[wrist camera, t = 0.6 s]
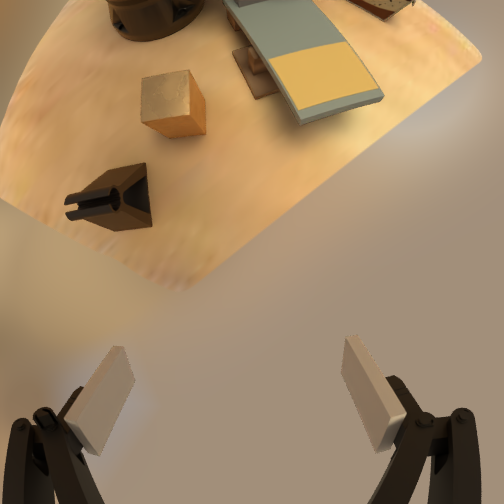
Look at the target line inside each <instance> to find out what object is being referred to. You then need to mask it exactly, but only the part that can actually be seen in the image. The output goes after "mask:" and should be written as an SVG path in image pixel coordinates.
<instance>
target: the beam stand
mask: <svg viewBox="0 0 504 504" xmlns="http://www.w3.org/2000/svg"><path fill="white" fill-rule="evenodd" d="M227 16H228V20H229V21H230V23H231V25H232V26H233V28H234V30H235V31H238V30H241V28H240V26H239V25H238V23H237V22H236V20H235V19H234V18H233V16H232V15H231V14H230V12H229V11H228V9H227ZM232 52H233V56H234V58H235V60H236V62H237V64H238V66H239V68H240V70H241V72H242V74H243V75H244V77H245V79H246V81H247V83H248V85H249V87H250V89H251V92H252V94H253V96H254V98H255V100H256V99H259V98H261V97H264V96H267V95H270V94H273V93H276V92H279V91H280V89H279V88H278V86H277V84H276V83H275V81H274V79H273V77H272V76H271V74H270V72H269V71H268V69H267V68H266V66H265V64H264V63H263V61H262V59H261V58H260V56H259V55H258V53H257V52H256V50H255V49H254V47H253V45H250V46H246V47H243V48H240V49H237V50H235V51H232Z"/></svg>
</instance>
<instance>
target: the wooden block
mask: <svg viewBox="0 0 504 504" xmlns="http://www.w3.org/2000/svg"><path fill="white" fill-rule="evenodd" d="M141 123H143V124H145V125H147V126H149V127H150V128H152V129H154V130H156V131H158V132H159V133H161V134H163V135H165V136H166V137H168V138H170V139H171V138H178V137H186V136H195V135H204V134H206V116H205V99H204V97H203V95H202V93H201V91H200V90H199V88H198V86H197V84H196V82H195V80H194V78H193V76H192V74H191V72H190V70H184V71H178V72H172V73H166V74H161V75H156V76H151V77H146V78H142V88H141Z"/></svg>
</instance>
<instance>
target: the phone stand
mask: <svg viewBox="0 0 504 504" xmlns="http://www.w3.org/2000/svg"><path fill="white" fill-rule="evenodd" d="M148 193H149V192H148V182H147V170H146V163H140V164H135V165H130V166H125V167H120V168H116V169H111V170H108V171H106V172H105V173H104V174H102V175H101V176H100V177H98V178H97V179H96V180H95V181H93V182H92V183H91V184H90V185H88V186H87V187H86V188H85V189H84V190H82V191H81V192H78V193H74V194H70V195H68V196H67V197H66V199H65V202H64V205H69V204H74V203H77V205H78V206H79V207H78V210H74V211H69V212H66V213H65V214H66V216H67V218H68V219H69V220H71V221H75V220H81V219H84V220H87V221H89V222H92V223H94V224H97V225H99V226H102V227H105V228H107V229H110V230H112V231H122V230H130V229H138V228H146V227H152V218H151V210H150V202H149V195H148Z"/></svg>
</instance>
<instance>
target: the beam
mask: <svg viewBox="0 0 504 504" xmlns="http://www.w3.org/2000/svg"><path fill="white" fill-rule="evenodd" d="M222 1H223V4H224V5H225V7H226V8H227V9H228V11H229V12H230V14H231V15H232V16H233V18H234V19H235V20H236V22H237V23H238V25H239V26H240V28H241V29H242V31H243V32H244V33H245V35H246V36H247V38H248V39H249V41H250V42H251V44H252V45H253V47H254V49H255V50H256V52H257V53H258V55H259V56H260V58H261V59H262V61H263V63H264V64H265V66H266V68H267V69H268V71H269V72H270V74H271V76H272V77H273V79H274V81H275V83H276V84H277V86H278V88H279V89H280V91H281V93H282V95H283V96H284V98H285V100H286V102H287V104H288V105H289V107H290V109H291V111H292V113H293V114H294V116H295V118H296V120H297V122H298V124H299V126H300V125H303V124H306V123H309V122H312V121H315V120H318V119H321V118H324V117H328V116H331V115H334V114H337V113H341V112H344V111H347V110H351V109H354V108H358V107H362V106H365V105H369V104H373V103H377V102H380V101H381V100H382V99H383V97H384V96H385V95H384V94H383V92H382V91H381V89H380V87H379V86H378V84H377V83H376V81H375V80H374V78H373V77H372V75H371V74H370V72H369V71H368V69H367V68H366V66H365V65H364V63H363V62H362V61H361V59H360V58H359V56H358V55H357V54H356V52H355V51H354V50H353V48H352V47H351V46H350V44H349V43H348V42H347V41H346V39H345V38H344V37H343V35H342V34H341V33H340V32H339V31H338V29H337V28H336V27H335V26H334V25H333V23H332V22H331V21H330V20H329V19H328V18H327V17H326V15H325V14H324V13H323V12H322V11H321V10H320V9H319V8H318V7H317V6H316V5H315V3H314V2H313V1H312V0H222Z"/></svg>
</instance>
